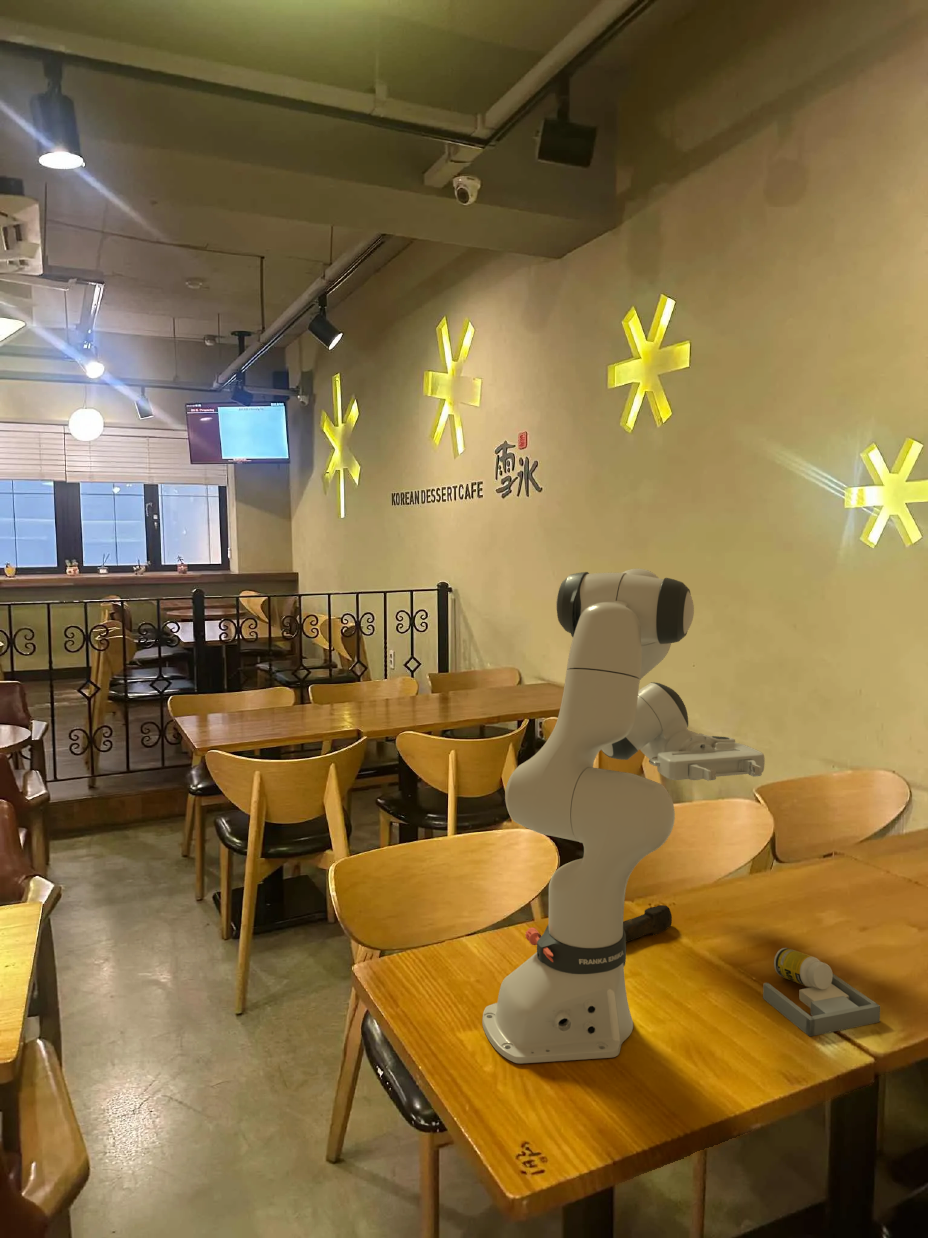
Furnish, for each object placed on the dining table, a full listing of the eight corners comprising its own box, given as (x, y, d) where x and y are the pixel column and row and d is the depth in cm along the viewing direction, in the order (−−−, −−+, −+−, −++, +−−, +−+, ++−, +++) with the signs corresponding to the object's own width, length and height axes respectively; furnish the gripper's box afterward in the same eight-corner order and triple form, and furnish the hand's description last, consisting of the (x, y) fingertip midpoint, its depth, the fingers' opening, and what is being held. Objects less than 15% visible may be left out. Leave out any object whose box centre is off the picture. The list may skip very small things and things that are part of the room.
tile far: (816, 1016, 127) (816, 1003, 127) (799, 1003, 131) (799, 990, 130) (849, 1009, 128) (849, 996, 128) (830, 996, 132) (831, 983, 132)
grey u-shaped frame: (809, 1036, 121) (810, 1020, 120) (763, 998, 131) (763, 983, 131) (879, 1022, 124) (880, 1006, 124) (829, 986, 134) (829, 971, 134)
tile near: (828, 1030, 123) (829, 1016, 122) (810, 1015, 126) (810, 1002, 126) (862, 1023, 124) (862, 1009, 124) (843, 1009, 128) (843, 995, 128)
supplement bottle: (768, 967, 136) (807, 981, 129) (781, 941, 138) (820, 954, 130) (787, 983, 137) (826, 998, 130) (799, 958, 139) (839, 971, 131)
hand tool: (601, 957, 145) (601, 932, 144) (586, 948, 148) (587, 923, 148) (681, 933, 154) (682, 909, 153) (666, 924, 157) (667, 901, 157)
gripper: (644, 743, 157) (684, 760, 143) (737, 736, 162) (784, 752, 149) (644, 775, 157) (683, 796, 144) (736, 768, 163) (783, 787, 150)
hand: (735, 774), depth 147 cm, fingers open, 8 cm apart
